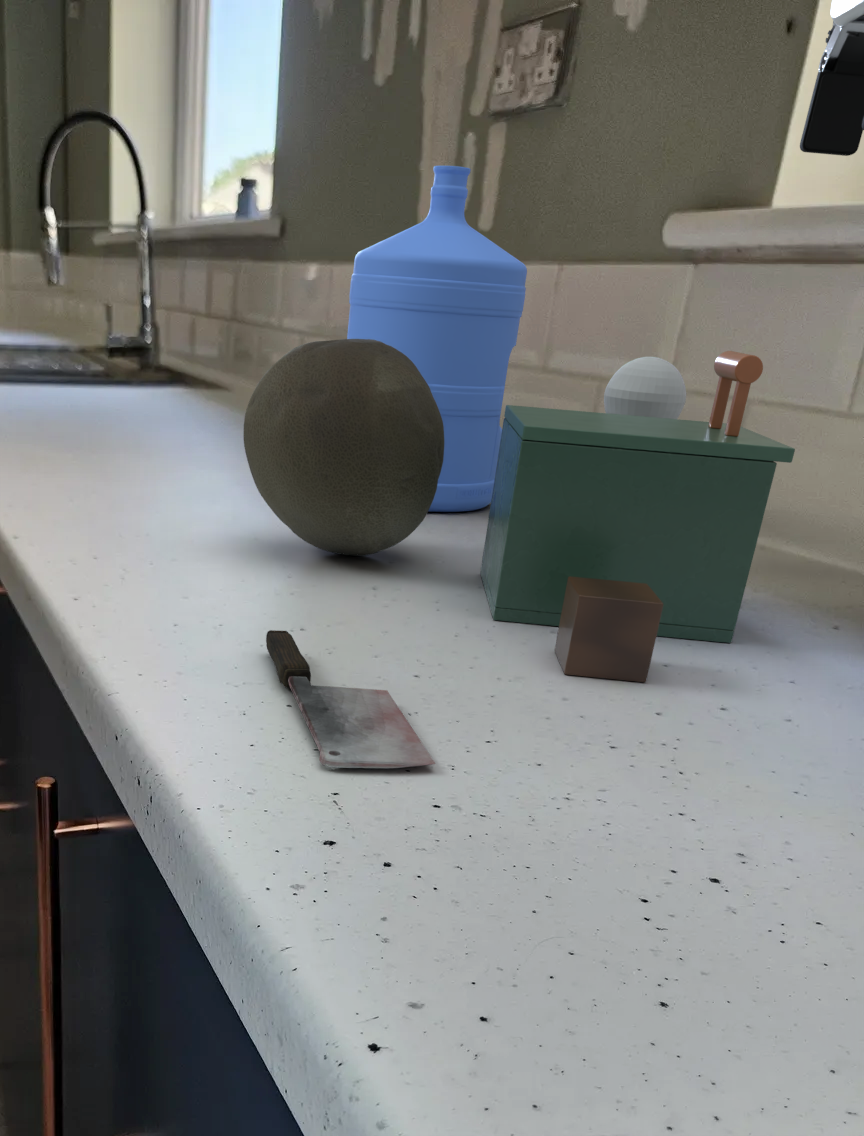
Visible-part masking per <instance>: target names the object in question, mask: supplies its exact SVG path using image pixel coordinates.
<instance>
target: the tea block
mask: <svg viewBox="0 0 864 1136" xmlns="http://www.w3.org/2000/svg"><path fill="white" fill-rule="evenodd" d="M663 605H664V604H663V602H662V601H661V600H660V599H659V598H658V596H657V595H656V594H655V593H654V592H653V590H652V589H651V588H650V587H649V586H648V584H645V583H634V582H624V581H613V580H603V579H592V578H581V577H571V576H569V577H568V580H567V586H566V591H565V596H564V602H563V607H562V612H561V618H560V623H559V626H558V629H557V635H556V640H555V644H554V645H555V646H554V654H555V655H556V658H557V660H558V662H559V665H560V667H561V669H562V672H563V674H564V675H567V676H576V677H577V676H578V677H584V678H585V677H586V678H596V679H597V678H599V679H608V680H615V681H626V682H637V683H647V680H648V677H649V672H650V667H651V662H652V657H653V653H654V649H655V646H656V645H655V644H656V641H657V640H656V639H657V637H658V636H657V632H658V627H659V623H660V618H661V614H662V609H663Z"/></svg>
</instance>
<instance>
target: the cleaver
mask: <svg viewBox="0 0 864 1136" xmlns="http://www.w3.org/2000/svg"><path fill="white" fill-rule="evenodd" d="M265 636H266V637H265V642H266V650H267V652H268V654H269V656H270V659H271V660H272V662H273V665H274V668H275V670H276V674H277V677H278V681H279V683H280V684H282V685H283V687H284V688H290V690H291V692H292V695H293V697H294V699H295V701H296V703H297V706H298V708H299V710H300V712H301V714H302V716H303V718H304V721H305V723H306V725H307V727H308V730H309V732H310V734H311V736H312V739H313V740H314V742H315V745H316V747H317V749H318V751H319V758H318V760H319V763H320V764H321V765H323V766H325V767H330V768H338V769H339V768H340V769H343V768H344V769H400V768H401V769H402V768H409V767H421V766H429V765H430V766H431V765H436V761H435V760H434V759H433V757H432V756H431V754H430V753H429V751H428V750H427V748H426V747H425V745H424V744H423V742H422V741H421V739H420V738H419V736H418V735H417V732H415V730H414V728H413V727H412V725H411V723H410V722H409V721H408V719H407V718H406V716H405V714H404V713H403V712H402V710H401V708H400V707H399V706H398V704H397V703H396V701H395V700H394V698H393V697H392V695H391V694H390V692H389V691H388V690H387V689H386V690H385V689H374V688H372V689H371V688H359V687H344V686H328V685H317V684H316V685H313V684H311V681H312V680H311V679H312V674H311V673H312V672H311V666H310V664H309V663H308V662H307V660H306V658H305V657H304V656H303V654H302V653H301V650H300V649H299V647H298V645H297V644H296V641H295V639H294V637H293V635H292V634H291V633H289V631H287V630H275V629H274V630H273V629H272V630H271V629H270V630H268V631H267V633H266V635H265Z"/></svg>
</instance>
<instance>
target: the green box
mask: <svg viewBox="0 0 864 1136" xmlns="http://www.w3.org/2000/svg"><path fill="white" fill-rule="evenodd" d="M501 428H502V434H501V441H500V447H499V454H498V460H497V467H496V473H495V480H494V486H493V493H492V499H491V503H490V507H489V513H488V521H487V525H486V532H485V540H484V548H483V553H482V559H481V565H480V572H479V573H480V577H481V580H482V584H483V587H484V592H485V595H486V598H487V602H488V605H489V609H490V612H491V616H492V619H493V621H499V622H501V621H502V622H511V623H520V624H521V623H522V624H529V625H531V624H532V625H541V626H551V627H559V623H560V618H561V612H562V607H563V602H564V596H565V591H566V586H567V580H568V577H569V576H571V577H581V578H592V579H603V580H613V581H624V582H634V583H645V584H648V586H649V587H650V588H651V589H652V590H653V592H654V593H655V594H656V595H657V596H658V598H659V599H660V600H661V601H662V602H663V604H664V605H663V609H662V614H661V618H660V623H659V627H658V632H657V636H656V637H665V638H674V639H675V638H676V639H684V640H693V641H694V640H695V641H706V642H716V643H726V644H731V643H732V642H733V637H734V633H735V629H736V627H737V626H736V625H737V621H738V618H739V615H740V614H739V613H740V610H741V605H742V602H743V598H744V594H745V591H746V586H747V582H748V580H749V579H748V578H749V575H750V571H751V567H752V563H753V559H754V556H755V551H756V547H757V544H758V540H759V535H760V531H761V527H762V523H763V519H764V517H765V512H766V509H767V505H768V500H769V496H770V493H771V489H772V484H773V480H774V477H775V473H776V470H777V466H778V462H776V461H764V460H753V459H741V458H730V457H718V456H707V455H695V454H683V453H672V452H660V451H649V450H637V449H625V448H614V447H602V446H591V445H579V444H567V443H556V442H544V441H533V440H523V439H522V438H521V437H520V436H519V434H518V433H517V432H516V431H515V429H514V428H513V427H512V426H511V424H510V423H509V422H508V421H507V419H506V418H505V417H503V422H502V427H501Z"/></svg>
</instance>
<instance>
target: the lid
mask: <svg viewBox="0 0 864 1136" xmlns="http://www.w3.org/2000/svg"><path fill="white" fill-rule="evenodd" d="M713 369H714V373H715V374H716V375H717V376H718V381H717V386H716V388H715V389H716V390H715V394H714V399H713V403H712V407H711V412H710V415H709V421H704V420H703V421H701V420H690V419H689V420H688V419H679V418H678V419H668V418H656V417H644V416H632V415H620V414H608V413H606V412H595V411H585V410H584V411H582V410H573V409H559V408H550V407H549V408H547V407H536V406H535V407H534V406H523V405H514V404H506V405H505V409H504V414H503V418H506V419H507V421H508V422H509V423H510V424H511V426H512V427H513V428H514V429H515V431H516V432H517V433H518V434H519V436H520V437H521V438H522V439H523V440H533V441H544V442H556V443H567V444H579V445H591V446H602V447H614V448H625V449H637V450H649V451H660V452H672V453H683V454H695V455H707V456H718V457H730V458H741V459H753V460H764V461H774V462H776V463H790V464H791V463H792V462H793V460H794V455H795V451H796V448H794V447H792V446H789V445H788V444H786V443H785V444H784V443H782V442H780V441H777V440H775V439H772V438H770V437H767V436H765V435H763V434H760V433H758V432H755V431H753V430H751V429H748V428H746V427H743V426H742V422H743V419H744V414H745V411H746V406H747V402H748V398H749V394H750V389H751V384H753V383H755V382H757V380H759V378H760V377H761V376H762V374H763V371H764V364H763V361H762V359H761V358H760V357H759V356H757V355H754V354H750V353H749V354H748V353H744V352H738V351H735V350H725V351H723V352H721V353H720V354H718V356H717V357H716V358H715V361H714V364H713ZM733 382H735V387H734V391H733V395H732V400H731V403H730V408H729V412H728V416H727V421H726V422H724V419H725V415H726V411H727V406H728V403H729V402H728V401H729V398H730V392H731V389H732V384H733Z"/></svg>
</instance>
